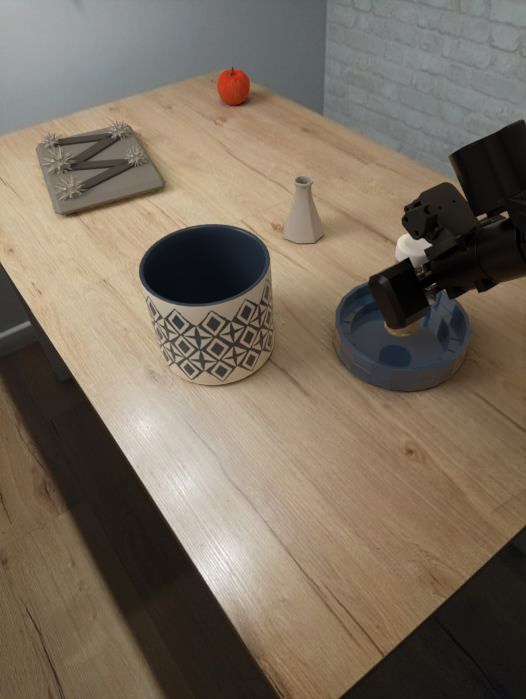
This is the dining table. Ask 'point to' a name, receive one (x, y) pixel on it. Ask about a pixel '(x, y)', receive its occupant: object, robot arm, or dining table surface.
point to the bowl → (400, 342)
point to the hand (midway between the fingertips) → (401, 283)
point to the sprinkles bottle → (417, 256)
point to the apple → (233, 86)
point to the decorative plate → (96, 168)
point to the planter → (210, 302)
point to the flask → (303, 214)
